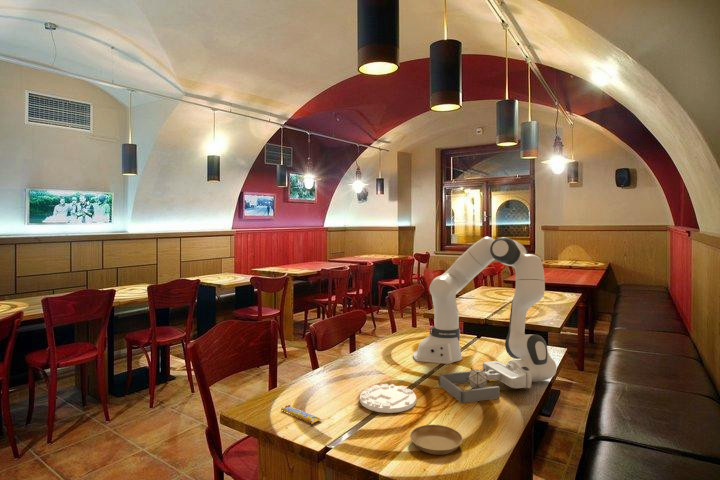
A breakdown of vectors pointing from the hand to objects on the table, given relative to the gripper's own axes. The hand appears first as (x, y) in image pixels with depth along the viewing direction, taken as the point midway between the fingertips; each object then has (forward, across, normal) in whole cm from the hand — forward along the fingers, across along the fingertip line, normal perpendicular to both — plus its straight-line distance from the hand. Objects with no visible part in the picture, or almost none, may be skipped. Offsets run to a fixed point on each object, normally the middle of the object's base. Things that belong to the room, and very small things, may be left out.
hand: (485, 375), depth 165 cm
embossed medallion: (+39, 0, +6) cm, 39 cm away
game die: (+3, 0, +5) cm, 6 cm away
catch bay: (+7, 0, +5) cm, 8 cm away
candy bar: (+70, +2, +6) cm, 70 cm away
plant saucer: (+36, +32, +6) cm, 48 cm away
